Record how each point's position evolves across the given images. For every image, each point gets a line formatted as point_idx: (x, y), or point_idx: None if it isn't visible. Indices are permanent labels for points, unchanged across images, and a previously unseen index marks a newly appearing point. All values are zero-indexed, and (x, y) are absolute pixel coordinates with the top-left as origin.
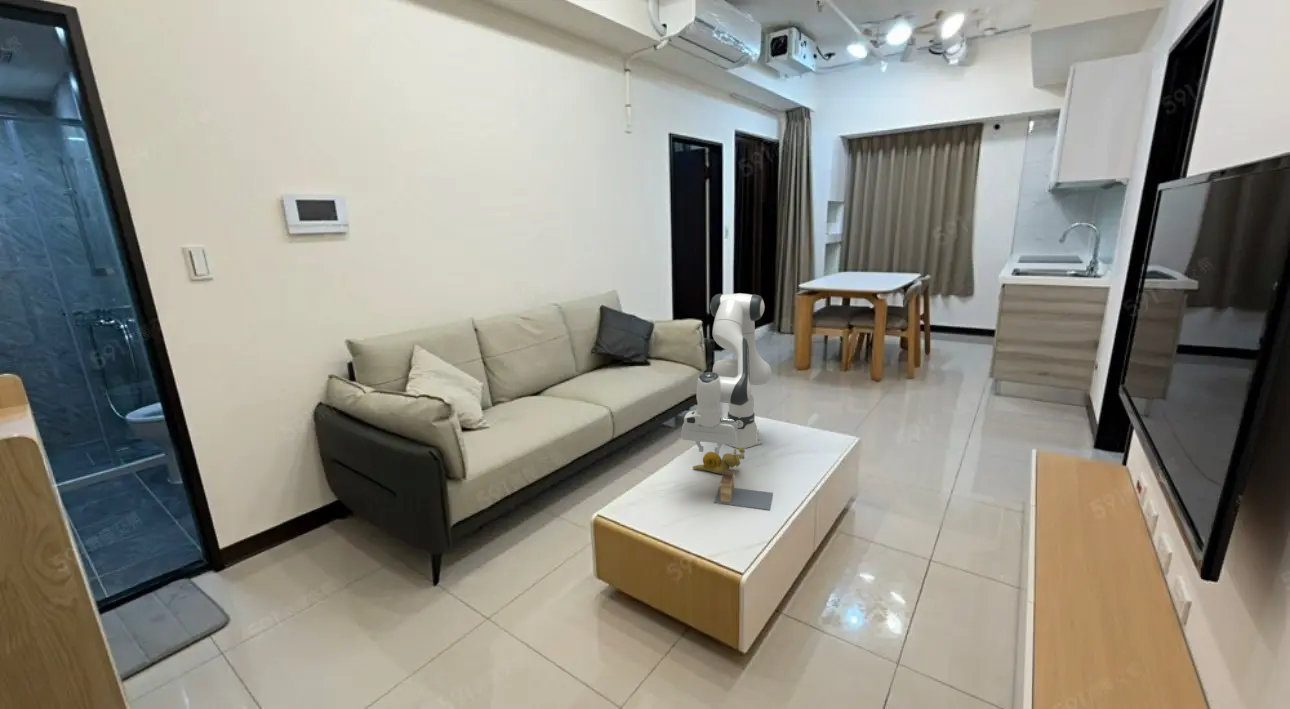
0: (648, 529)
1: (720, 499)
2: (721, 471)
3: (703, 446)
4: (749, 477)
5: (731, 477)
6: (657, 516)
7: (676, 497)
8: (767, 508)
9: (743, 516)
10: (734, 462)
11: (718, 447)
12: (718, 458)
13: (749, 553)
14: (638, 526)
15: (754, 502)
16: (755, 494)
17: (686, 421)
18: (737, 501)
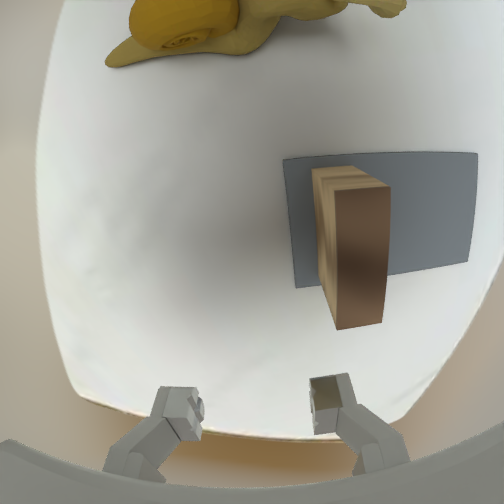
0: None
1: (315, 264)
2: (254, 47)
3: (189, 421)
4: (381, 40)
5: (384, 275)
6: (167, 384)
7: (155, 296)
8: (462, 259)
9: (397, 316)
10: (330, 15)
11: (358, 451)
12: (223, 8)
13: (401, 407)
14: None
15: (431, 239)
16: (432, 183)
17: None
18: None
